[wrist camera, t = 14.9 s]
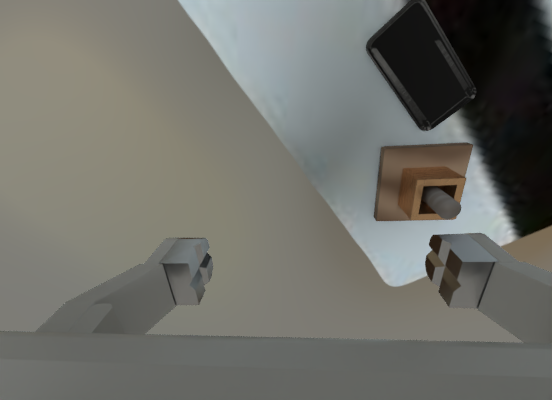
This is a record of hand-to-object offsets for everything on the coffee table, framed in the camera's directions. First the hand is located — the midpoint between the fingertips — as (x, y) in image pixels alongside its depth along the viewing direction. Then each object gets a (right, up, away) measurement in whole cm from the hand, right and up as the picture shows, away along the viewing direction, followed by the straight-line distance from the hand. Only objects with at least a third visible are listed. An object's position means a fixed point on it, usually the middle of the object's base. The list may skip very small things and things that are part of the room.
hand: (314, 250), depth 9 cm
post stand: (+21, +5, +31) cm, 37 cm away
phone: (+18, +19, +25) cm, 36 cm away
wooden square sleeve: (+21, +4, +29) cm, 36 cm away
